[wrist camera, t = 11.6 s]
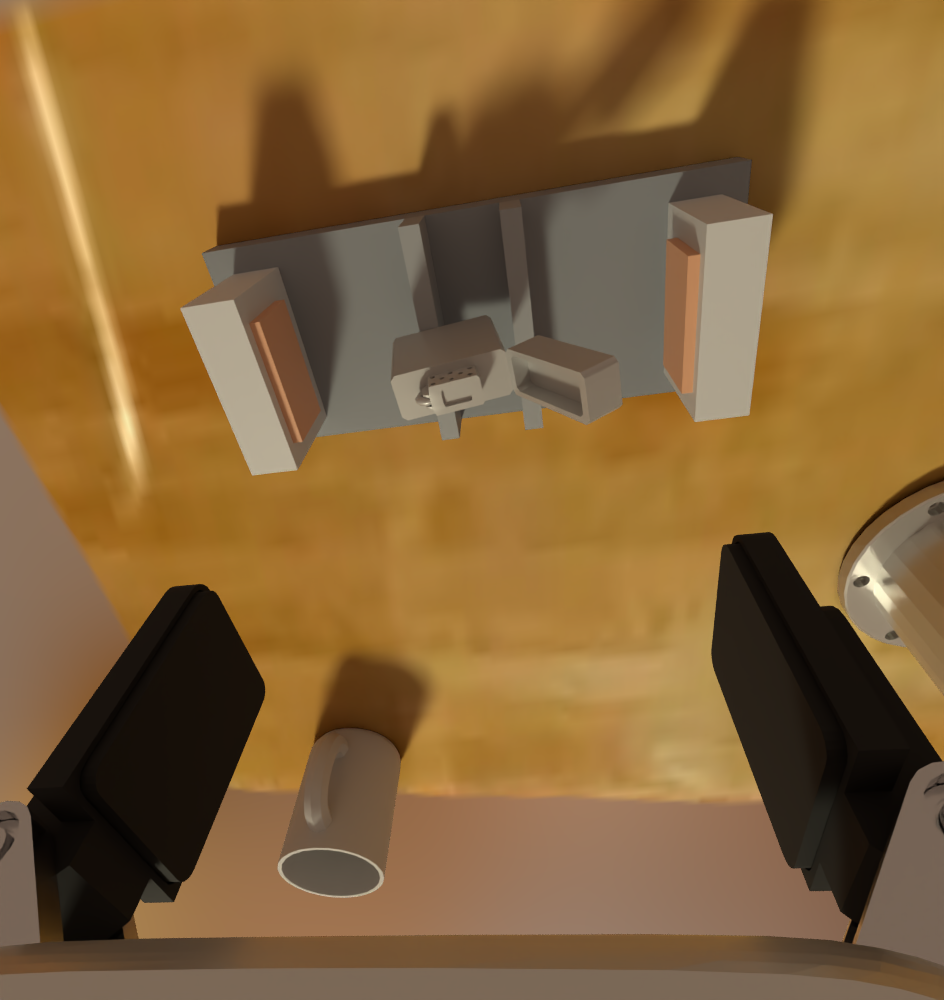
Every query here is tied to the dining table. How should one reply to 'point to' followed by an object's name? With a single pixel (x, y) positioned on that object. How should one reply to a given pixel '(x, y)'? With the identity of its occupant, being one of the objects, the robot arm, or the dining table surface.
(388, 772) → the cup
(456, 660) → the dining table surface
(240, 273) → the grey holder rack
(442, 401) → the lighter
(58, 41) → the dining table surface
